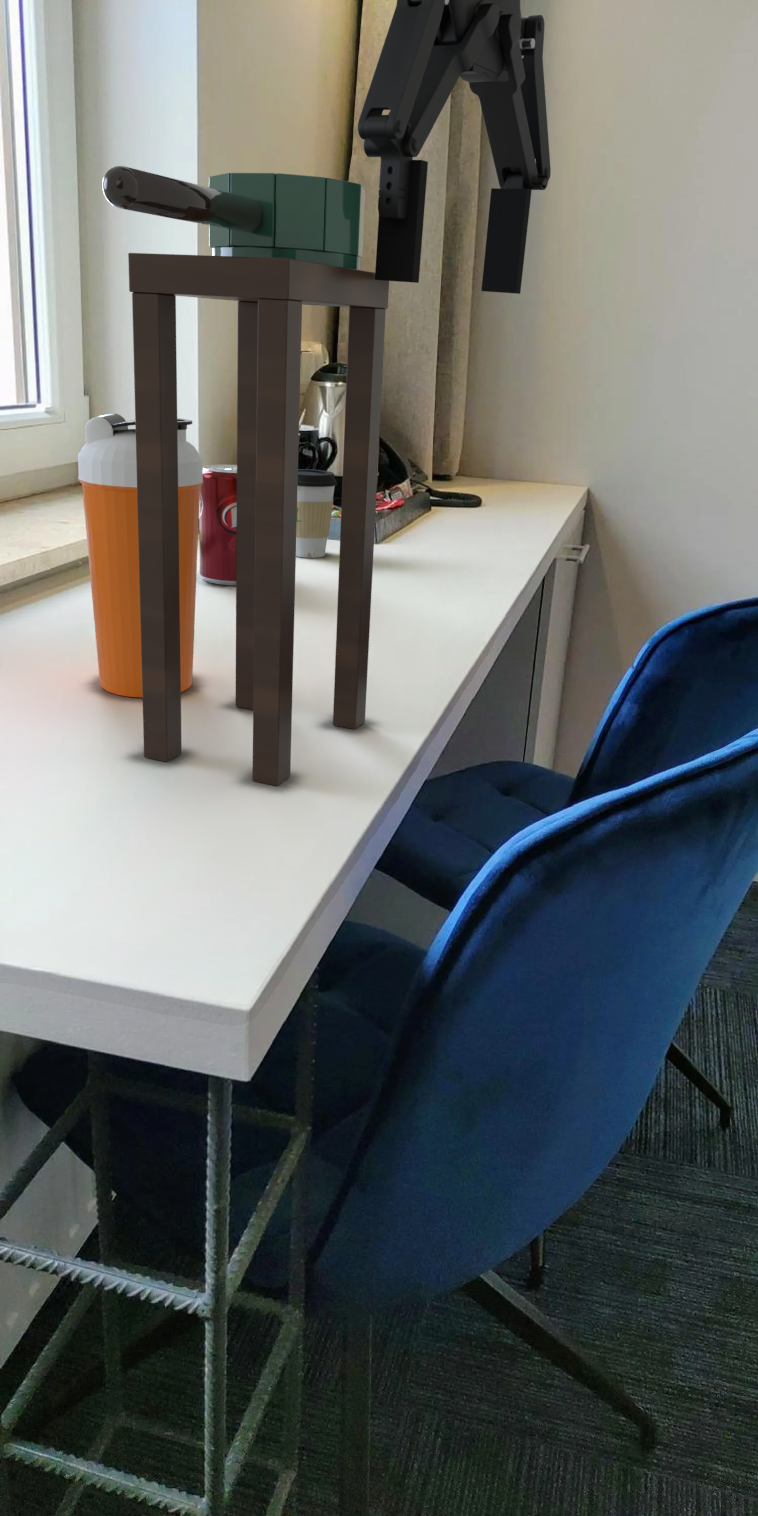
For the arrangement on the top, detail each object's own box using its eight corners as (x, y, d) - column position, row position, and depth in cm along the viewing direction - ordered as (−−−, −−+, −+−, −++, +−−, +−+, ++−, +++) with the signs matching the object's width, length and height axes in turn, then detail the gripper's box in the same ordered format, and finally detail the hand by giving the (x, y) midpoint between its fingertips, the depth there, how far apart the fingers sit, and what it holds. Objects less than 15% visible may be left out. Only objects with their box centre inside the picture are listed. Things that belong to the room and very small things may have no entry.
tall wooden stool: (278, 787, 69) (289, 258, 58) (141, 757, 72) (127, 252, 61) (367, 722, 81) (389, 274, 70) (246, 699, 84) (250, 269, 74)
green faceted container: (254, 269, 73) (255, 191, 72) (385, 274, 70) (389, 193, 69) (31, 239, 54) (25, 131, 52) (198, 244, 51) (198, 130, 49)
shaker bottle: (200, 703, 83) (198, 425, 76) (78, 700, 82) (64, 418, 75) (207, 669, 91) (206, 414, 84) (96, 666, 90) (86, 409, 83)
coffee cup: (295, 547, 142) (297, 467, 139) (342, 553, 140) (345, 472, 137) (272, 555, 137) (274, 472, 133) (321, 561, 134) (324, 477, 131)
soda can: (185, 578, 122) (184, 466, 118) (230, 569, 128) (230, 462, 123) (235, 589, 118) (236, 474, 114) (279, 580, 124) (281, 469, 120)
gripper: (432, -203, 53) (398, 278, 61) (627, -51, 73) (582, 299, 81) (306, -180, 57) (290, 272, 65) (525, -41, 76) (491, 293, 84)
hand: (452, 287), depth 73 cm, fingers open, 13 cm apart
